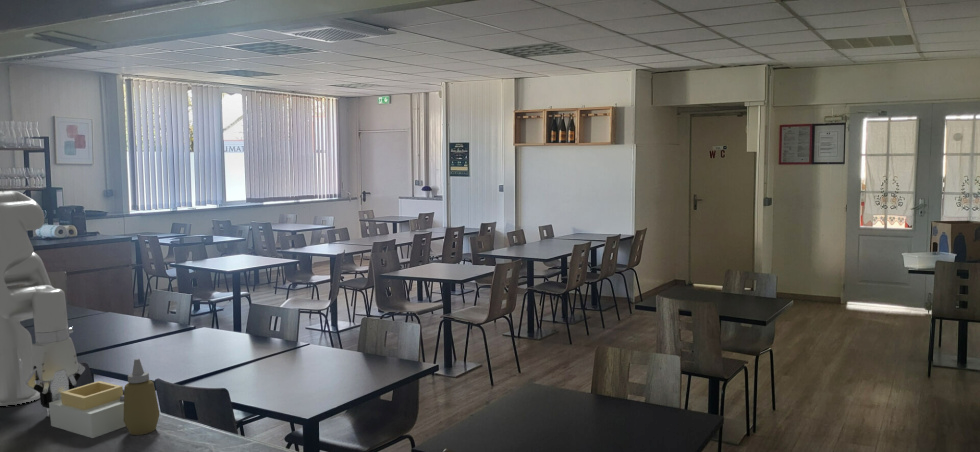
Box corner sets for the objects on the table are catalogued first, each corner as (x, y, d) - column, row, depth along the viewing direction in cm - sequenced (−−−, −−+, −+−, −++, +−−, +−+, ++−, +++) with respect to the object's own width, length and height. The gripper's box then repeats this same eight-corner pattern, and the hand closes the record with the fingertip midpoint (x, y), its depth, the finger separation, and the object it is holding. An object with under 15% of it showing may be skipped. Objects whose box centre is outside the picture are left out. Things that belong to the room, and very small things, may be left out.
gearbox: (51, 425, 186) (47, 391, 186) (97, 410, 197) (94, 377, 196) (92, 438, 177) (89, 401, 176) (138, 421, 187) (135, 387, 187)
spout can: (43, 415, 194) (38, 362, 193) (64, 408, 199) (59, 356, 197) (54, 418, 191) (49, 364, 190) (75, 412, 196) (70, 359, 195)
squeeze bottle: (146, 438, 176) (140, 364, 174) (117, 436, 178) (110, 363, 176) (167, 425, 184) (162, 355, 182) (139, 424, 186) (133, 354, 184)
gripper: (76, 327, 202) (82, 391, 204) (9, 342, 188) (16, 411, 189) (92, 330, 198) (98, 395, 200) (25, 345, 184) (32, 416, 186)
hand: (58, 402), depth 195 cm, fingers closed on spout can, 5 cm apart
